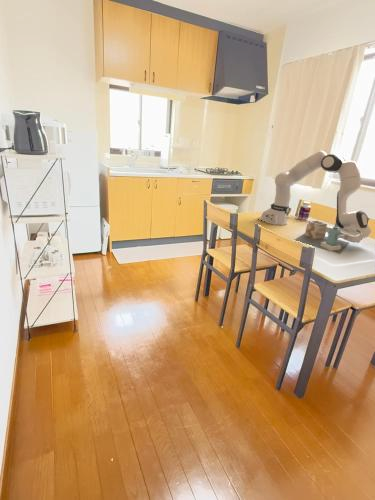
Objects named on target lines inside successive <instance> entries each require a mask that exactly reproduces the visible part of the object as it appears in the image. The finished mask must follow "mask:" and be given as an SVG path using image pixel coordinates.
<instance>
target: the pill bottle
mask: <svg viewBox="0 0 375 500" xmlns="http://www.w3.org/2000/svg"><path fill="white" fill-rule="evenodd" d="M311 208H312V206H311V202H310V201H303V202H302V204H301V205H300V207H299V212H298V216H297V218H298V220H301V221H302V220H303V221H308V220H309V216H310V212H311Z"/></svg>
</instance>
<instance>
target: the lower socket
mask: <svg viewBox="0 0 375 500" xmlns="http://www.w3.org/2000/svg"><path fill="white" fill-rule="evenodd" d="M320 246H322V247H324V248H326V249H328V250H330V251H329V252H331V251H332V250H340V249H341V245H338V244H336V246H330V245H328V244H326V242H321V245H320ZM328 250H327V251H328Z"/></svg>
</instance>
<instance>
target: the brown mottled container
mask: <svg viewBox="0 0 375 500" xmlns="http://www.w3.org/2000/svg"><path fill="white" fill-rule="evenodd" d="M327 227H328V224H327V223H325V222H323V221H320V220H309V221H308V223H306V227H305V230H304V233H305V235H307V236H309V237H311V238H313V239H320V238H324V237H325V236H326V234H327V232H326V228H327Z"/></svg>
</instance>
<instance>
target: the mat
mask: <svg viewBox="0 0 375 500" xmlns="http://www.w3.org/2000/svg"><path fill="white" fill-rule="evenodd" d="M327 238H328V236H326V235H325V237H324V238H320V239H313V238H311V237H309V236H307V235H305V232H304V233H303V234H301V235H299V236H298V237H296V238H295V239H294V240H296V241H300V242H302V243H301V244H303V243H306V244H305V245H307V244H309V245H308V246H310V245H312V246H311V247H314V246H315V247H314V248H318V249H322V250H325V251H329V252H333V253H335V254H338V255H340V254H341V253H342V252H343V251H344V250H345V249H346V248H347V247H348V245H349V244H350V241H346V240H340V239H338V240H337V244H338V245H341V249H340V250H332V251H330V250H328V249H326V248H324V247H322V246H320V245H321V242H327ZM296 241H295V242H296ZM300 242H299V243H300Z"/></svg>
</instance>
